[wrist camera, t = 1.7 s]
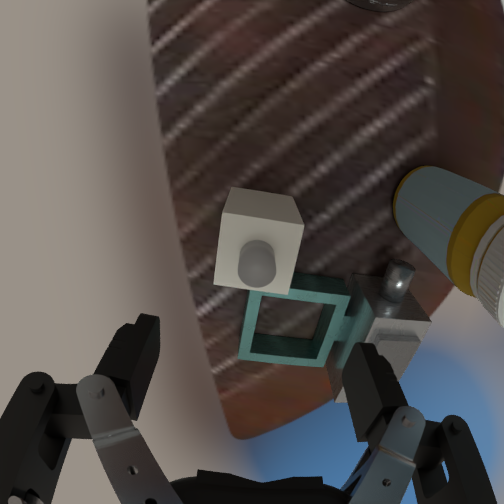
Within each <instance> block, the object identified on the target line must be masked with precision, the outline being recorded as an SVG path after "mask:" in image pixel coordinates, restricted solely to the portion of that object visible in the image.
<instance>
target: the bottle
mask: <svg viewBox="0 0 504 504" xmlns="http://www.w3.org/2000/svg"><path fill="white" fill-rule="evenodd" d="M393 214H394V218H395V221H396V224H397V226H398V228H399V229H400V230H401V231H402V233H403V234H404V235H405V236H406V237H407V238H408V239H409V240H410V241H411V242H412V243H413V244H414V245H415V246H417V247H418V248H419V249H420V250H421V251H422V252H423V253H424V254H425V255H426V256H427V257H428V258H429V259H430V260H431V261H432V262H433V263H434V264H435V265H436V266H437V267H438V268H439V269H440V270H441V271H442V272H443V273H444V274H445V275H446V277H447V278H448V279H449V280H450V281H451V282H452V283H453V284H454V285H455V286H456V287H458V289H460V291H462V292H464V293H465V294H467V295H470V296H473V297H475V298H477V299H478V300H479V301H480V302H481V303H482V304H483V306H484V308H485V309H486V310H487V311H488V312H489V313H490V314H491V315H492V317H493V318H494V319H495V320H496V321H497V322H498V323H499V324H500V325H501V326H502V327H504V195H502V194H500V193H498V192H496V191H493V190H491V189H489V188H487V187H485V186H482V185H480V184H478V183H476V182H473V181H471V180H469V179H466V178H464V177H462V176H459V175H457V174H454V173H452V172H449V171H447V170H444V169H441V168H438V167H434V166H421V167H418V168H416V169H414V170H412V171H411V172H409V173H408V174H407V175H406V176H405V177H404V178H403V179H402V181H401V182H400V184H399V186H398V188H397V190H396V192H395V196H394V201H393Z"/></svg>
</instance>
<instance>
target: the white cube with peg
mask: <svg viewBox="0 0 504 504" xmlns="http://www.w3.org/2000/svg"><path fill="white" fill-rule="evenodd" d="M303 230H304V223H303V220H302V218H301V216H300V213H299V211H298V208H297V206H296V204H295V201H294V199H293V197H292V196H287V195H281V194H275V193H269V192H263V191H257V190H250V189H244V188H237V187H231V189H230V192H229V195H228V198H227V201H226V203H225V206H224V209H223V212H222V219H221V226H220V234H219V242H218V250H217V259H216V267H215V275H214V284H215V285H221V286H228V287H234V288H241V289H248V290H255V291H262V292H270V293H277V294H284V295H288V292H289V288H290V284H291V280H292V276H293V272H294V268H295V264H296V260H297V255H298V251H299V247H300V243H301V238H302V234H303Z"/></svg>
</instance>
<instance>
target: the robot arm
mask: <svg viewBox="0 0 504 504" xmlns="http://www.w3.org/2000/svg"><path fill="white" fill-rule="evenodd" d="M347 1H348V2H350V3H352V4H354V5H357V6H359V7H361V8H364V9H368V10H372V11H381V12H388V11H395V10H398V9H401V8H403V7H405V6H406V5H408V4H409V3H411V2H413V1H414V0H347ZM159 352H160V319H159V317H158V316H153V315H148V314H143V313H141V314H140V315H139V317H138V319H137V321H136V323H135V324H129V323H126V324H125V325H123V326H122V327H121V328H119V329H118V330H117V332H116V333H115V335H114V337H113V340H112V341H111V342H110V344H109V347H108V348H107V350H106V351H105V353H104V355H103V357H102V359H101V361H100V362H99V364H98V366H97V368H96V370H95V372H94V374H93V375H89V376H86V377H84V378H83V379H81V380H80V381H79V383H78V384H56V383H54V380H53V379H52V377H51V376H50V375H48V374H46V373H44V372H32V373H30V374H28V375H26V376H25V377H24V378H23V379H22V381H21V382H20V384H19V386H18V387H17V389H16V391H15V393H14V394H13V396H12V398H11V400H10V402H9V403H8V405H7V407H6V409H5V411H4V413H3V415H2V416H1V418H0V504H51V502H52V499H53V495H54V492H55V488H56V485H57V482H58V479H59V475H60V472H61V469H62V466H63V463H64V460H65V457H66V454H67V451H68V448H69V445H70V442H71V439H72V438H77V439H93V443H94V446H95V448H96V451H97V453H98V456H99V458H100V460H101V463H102V465H103V467H104V470H105V472H106V474H107V476H108V478H109V480H110V482H111V485H112V487H113V489H114V491H115V493H116V494H117V497H118V499H119V500H120V502H121V504H400V503H401V500H402V498H403V496H404V494H405V492H406V489H407V487H408V485H409V482H410V480H411V478H412V480H413V485H414V489H415V494H416V498H417V503H418V504H497V501H496V498H495V495H494V492H493V489H492V486H491V483H490V480H489V478H488V475H487V472H486V469H485V466H484V464H483V461H482V458H481V456H480V453H479V451H478V448H477V446H476V444H475V441H474V439H473V436H472V434H471V431H470V429H469V427H468V425H467V423H466V422H465V421H464V420H463V419H462V418H461V417H459V416H456V415H449V416H446V417H445V418H444V419H443V421H442V422H441V423H440V422H434V421H429V420H425V418H424V416H423V414H422V413H421V412H420V411H419V410H417V409H416V408H414V407H411V406H409V405H408V403H407V400H406V398H405V396H404V394H403V391H402V389H401V386H400V384H399V382H398V381H397V377H396V375H395V374H394V370H393V368H392V366H391V364H390V362H389V361H388V360H387V359H386V358H385V357H384V356H383V355H379V354H378V351H377V349H376V347H375V345H374V344H373V343H363V342H356V343H355V344H354V346H353V348H352V350H351V352H350V355H349V357H348V359H347V361H346V363H345V365H344V368H343V371H342V383H343V387H344V391H345V394H346V398H347V402H348V406H349V409H350V413H351V418H352V422H353V426H354V429H355V434H356V438H357V442H367V441H368V445H369V446H368V447H367V449H366V450H365V452H364V453H363V455H362V457H361V459H360V460H359V462H358V464H357V465H356V467H355V469H354V470H353V472H352V473H351V475H350V477H349V478H348V480H347V481H346V483H345V484H344V485H343V486H342V487H341V489H337V488H335V487H332V486H329V485H326V484H323V479H322V476H320V477H290V478H286V479H281V480H276V481H270V482H264V483H261V482H256V481H252V480H249V479H246V478H242V477H239V476H236V475H232V474H229V473H220V472H213V471H205V470H199V469H198V471H197V476H196V477H187V478H181V479H178V480H175V481H172V482H169V481H168V480H167V478H166V476H165V475H164V473H163V472H162V470H161V468H160V467H159V465H158V463H157V462H156V460H155V458H154V456H153V455H152V453H151V451H150V449H149V448H148V446H147V444H146V442H145V440H144V438H143V437H142V435H141V433H140V432H139V430H138V429H137V428H135V427H134V425H133V423H132V421H131V420H135V421H137V419H138V417H139V413H140V410H141V407H142V405H143V401H144V399H145V395H146V392H147V390H148V387H149V384H150V381H151V378H152V375H153V372H154V369H155V366H156V364H157V361H158V358H159ZM443 461H445V464H446V467H447V470H448V474H449V481H448V483H447V480H446V476H445V473H444V470H443V466H442V462H443Z"/></svg>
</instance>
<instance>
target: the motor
mask: <svg viewBox="0 0 504 504" xmlns="http://www.w3.org/2000/svg"><path fill="white" fill-rule="evenodd" d="M414 273H415V268H414V267H413V266H412V265H411V264H409V263H407V262H405V261H402V260H399V259H391V260H390V261H389V264H388V267H387V270H386V272H385V275H384V277H377V276H370V275H363V274H356V273H352V276H351V279H350V282H349V285H348V288H347V287H346V285H345V283H344V280H343V279H339V278H332V277H325V276H318V275H311V274H303V273H297V272H293V276H292V280H291V284H290V288H289V292H288V295H284V294H277V293H270V292H262V291H255V290H248V292H247V298H246V303H245V309H244V314H243V320H242V326H241V331H240V337H239V347H238V359H243V360H251V361H260V362H269V363H278V364H289V365H300V366H314V367H323V366H324V364H325V362H326V366H327V371H328V375H329V380H330V384H331V389H332V393H333V398H334V402H347V398H346V394H345V391H344V387H343V383H342V371H343V368H344V365H345V363H346V361H347V359H348V357H349V355H350V352H351V350H352V348H353V346H354V344H355V343H356V342H363V343H373V344H374V345H375V347H376V349H377V351H378V354H379V355H383V356H384V357H385V358H386V359H387V360H388V361H389V362H390V364H391V366H392V368H393V370H394V374H395V375H396V377H397V381H399V380H400V378H401V376H402V375H403V373H404V371H405V370H406V368H407V366H408V365H409V363H410V361H411V360H412V358H413V356H414V354H415V352H416V351H417V349H418V347H419V345H420V343H421V342H422V340H423V338H424V336H425V334H426V332H427V330H428V328H429V326H430V324H431V323H432V321H431V320H430V318H429V317H428V316H427V314H426V313H425V311H424V310H423V309H422V307H421V306H420V304H419V303H418V302H417V300H416V299H415V297H414V296H413V295H412V293H411V292H410V291H409V289H408V288H409V286H410V283H411V281H412V278H413V276H414ZM262 295H263V296H271V297H278V298H286V299H293V300H301V301H309V302H317V303H325V304H324V307H323V310H322V313H321V316H320V319H319V322H318V325H317V328H316V331H315V334H314V337H313V339H312V340H310V339H299V338H290V337H281V336H272V335H264V334H256V333H254V330H255V325H256V320H257V316H258V311H259V306H260V301H261V296H262Z"/></svg>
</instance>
